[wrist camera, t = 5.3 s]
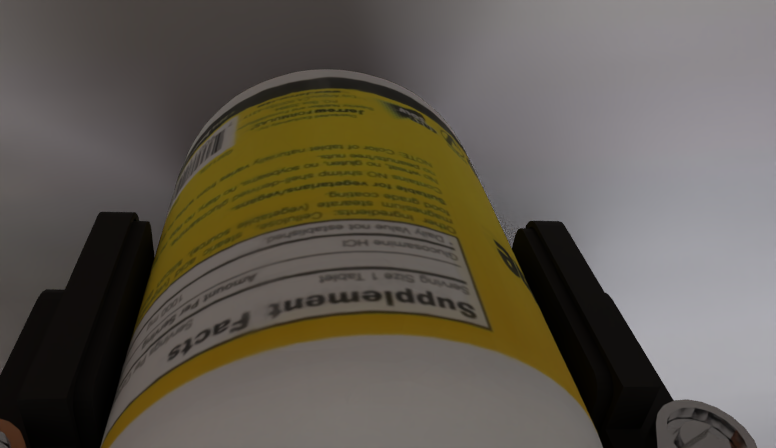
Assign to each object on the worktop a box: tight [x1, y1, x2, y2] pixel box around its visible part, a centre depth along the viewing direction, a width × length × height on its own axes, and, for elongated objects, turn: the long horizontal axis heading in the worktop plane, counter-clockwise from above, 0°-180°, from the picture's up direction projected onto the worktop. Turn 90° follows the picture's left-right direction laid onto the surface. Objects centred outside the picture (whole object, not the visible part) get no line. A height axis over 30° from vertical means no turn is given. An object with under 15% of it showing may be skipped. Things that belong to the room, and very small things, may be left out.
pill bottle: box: [100, 69, 603, 448], centre depth 10 cm, size 6×6×11 cm
